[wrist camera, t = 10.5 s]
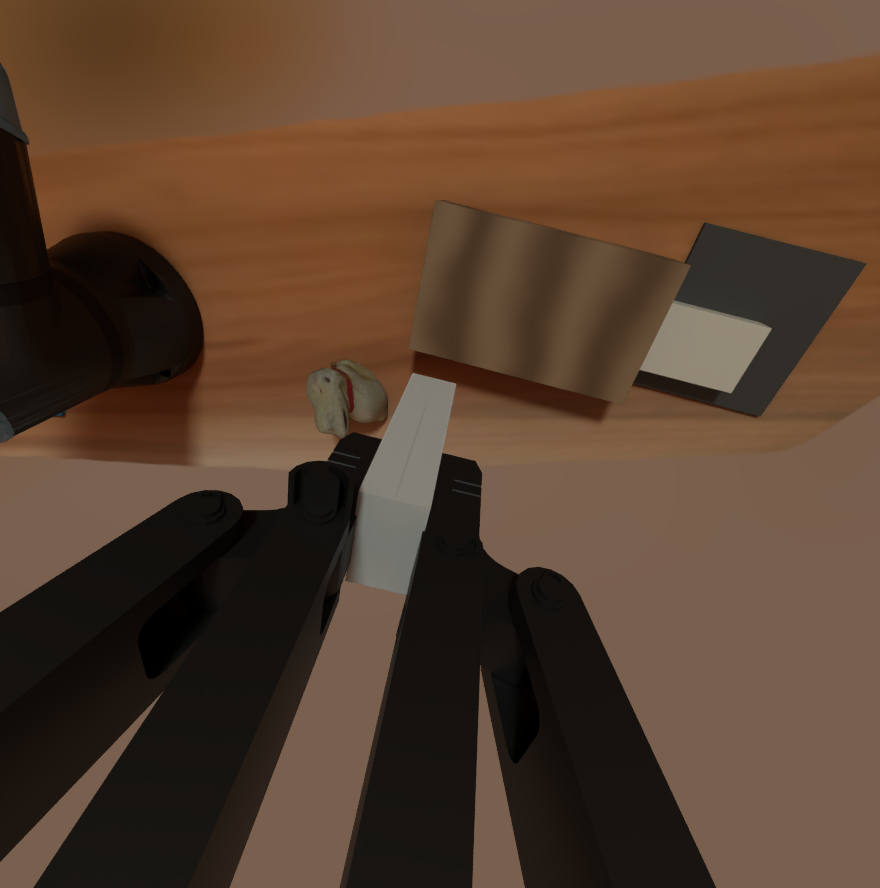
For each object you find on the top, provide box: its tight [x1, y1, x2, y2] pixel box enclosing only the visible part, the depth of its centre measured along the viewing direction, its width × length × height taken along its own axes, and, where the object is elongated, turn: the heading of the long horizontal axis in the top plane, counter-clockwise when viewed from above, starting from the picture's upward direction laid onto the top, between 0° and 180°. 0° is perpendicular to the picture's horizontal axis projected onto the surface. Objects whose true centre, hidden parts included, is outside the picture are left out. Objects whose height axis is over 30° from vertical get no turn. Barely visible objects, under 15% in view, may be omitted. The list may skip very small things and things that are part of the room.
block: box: [640, 301, 772, 393], centre depth 38 cm, size 9×6×2 cm, turn 78°
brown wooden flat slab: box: [408, 200, 691, 405], centre depth 37 cm, size 20×12×4 cm, turn 78°
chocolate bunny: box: [306, 360, 388, 438], centre depth 42 cm, size 6×8×10 cm
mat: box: [633, 223, 866, 417], centre depth 37 cm, size 13×14×1 cm
